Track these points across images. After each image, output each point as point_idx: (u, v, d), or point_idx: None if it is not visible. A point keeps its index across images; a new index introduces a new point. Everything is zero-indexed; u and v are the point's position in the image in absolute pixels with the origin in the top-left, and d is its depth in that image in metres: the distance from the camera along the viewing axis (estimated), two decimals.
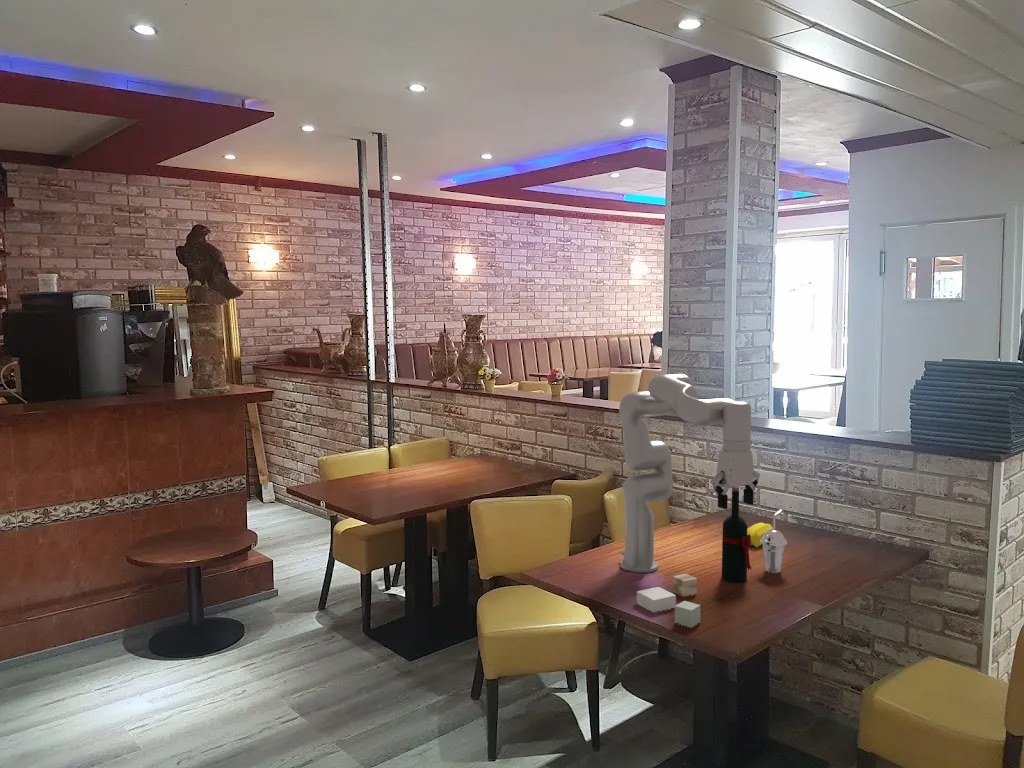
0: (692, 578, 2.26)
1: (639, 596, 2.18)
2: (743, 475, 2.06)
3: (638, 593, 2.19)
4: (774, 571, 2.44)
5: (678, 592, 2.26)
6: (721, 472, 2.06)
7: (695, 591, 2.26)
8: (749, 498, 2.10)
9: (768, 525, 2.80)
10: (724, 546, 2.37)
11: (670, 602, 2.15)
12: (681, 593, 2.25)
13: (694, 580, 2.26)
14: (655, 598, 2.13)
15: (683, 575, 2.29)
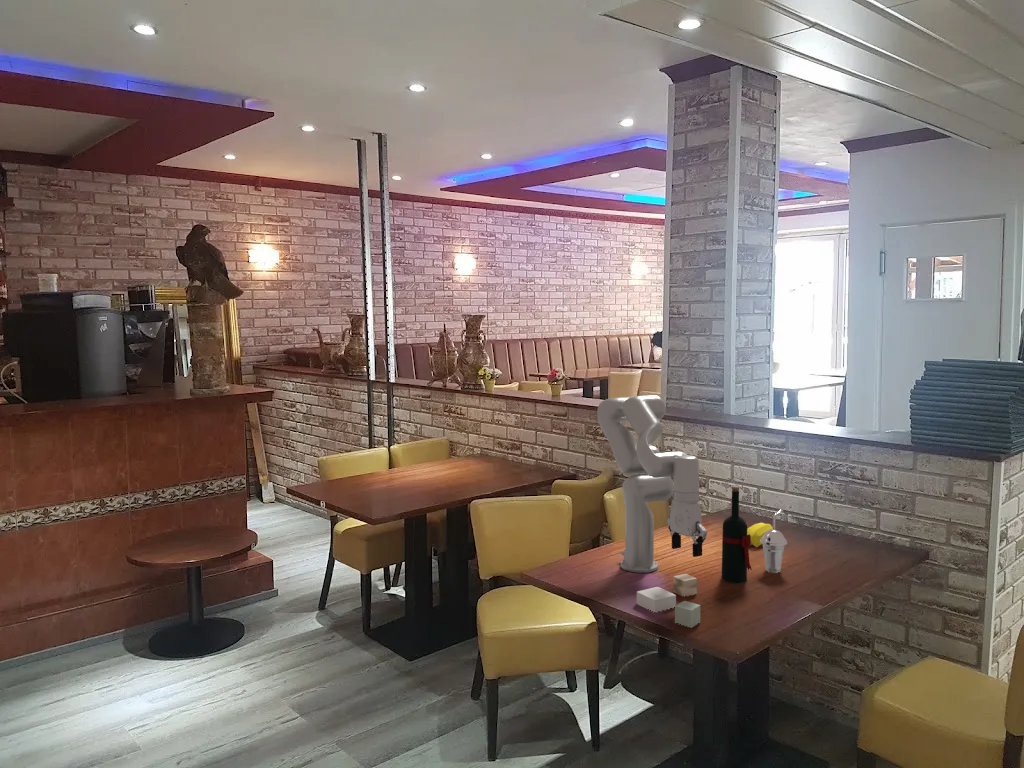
0: (692, 578, 2.26)
1: (639, 596, 2.18)
2: None
3: (638, 593, 2.18)
4: (774, 571, 2.44)
5: (678, 592, 2.26)
6: (697, 523, 2.20)
7: (695, 591, 2.26)
8: (679, 542, 2.30)
9: (768, 525, 2.80)
10: (724, 546, 2.37)
11: (671, 602, 2.15)
12: (681, 593, 2.25)
13: (694, 580, 2.26)
14: (656, 599, 2.13)
15: (683, 575, 2.29)
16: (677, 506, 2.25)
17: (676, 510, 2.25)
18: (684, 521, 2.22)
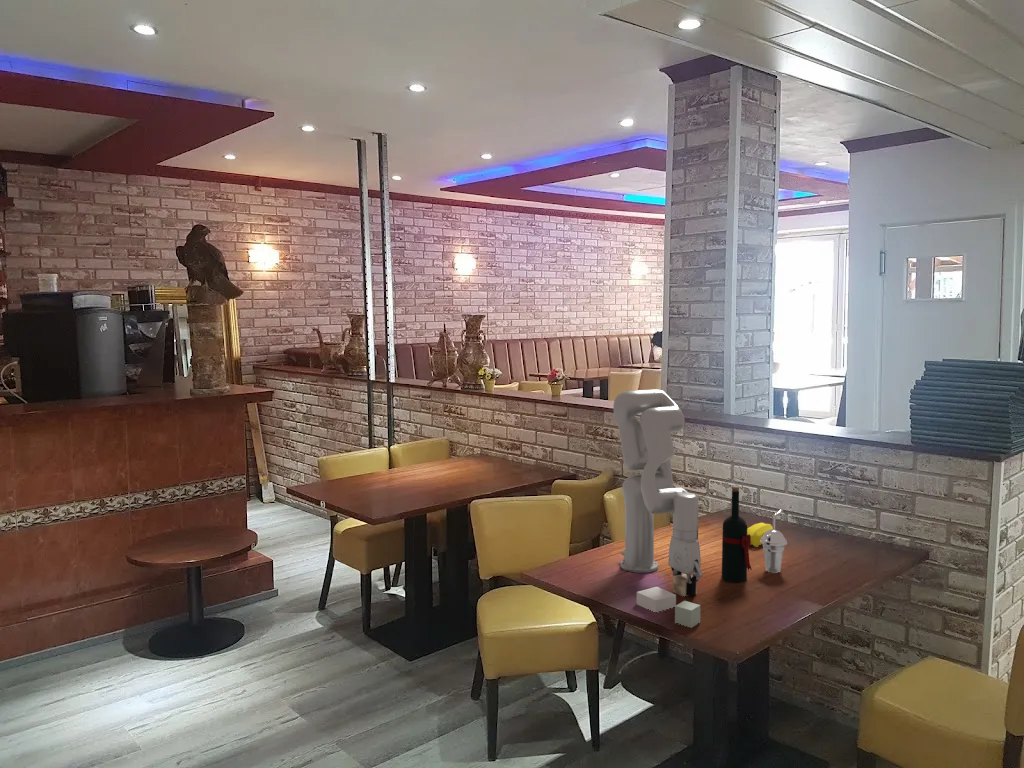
0: None
1: (639, 596, 2.18)
2: None
3: (638, 594, 2.18)
4: (774, 571, 2.44)
5: (678, 592, 2.26)
6: (695, 563, 2.22)
7: None
8: None
9: (768, 525, 2.79)
10: (724, 546, 2.37)
11: (671, 602, 2.15)
12: (681, 593, 2.25)
13: None
14: (657, 599, 2.13)
15: (683, 575, 2.29)
16: (676, 543, 2.26)
17: (675, 548, 2.26)
18: (683, 559, 2.23)
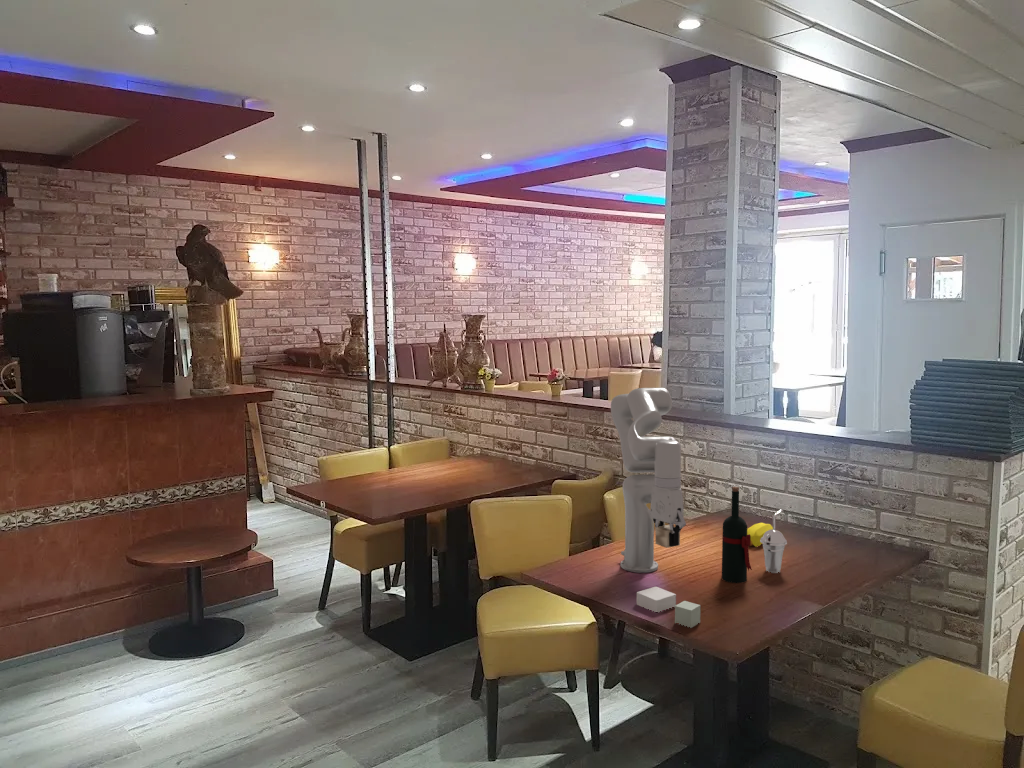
0: None
1: (639, 597, 2.18)
2: None
3: (638, 594, 2.18)
4: (774, 571, 2.44)
5: (661, 543, 2.18)
6: (678, 512, 2.14)
7: None
8: None
9: (768, 525, 2.80)
10: (724, 546, 2.37)
11: (671, 601, 2.16)
12: (664, 544, 2.17)
13: None
14: (658, 599, 2.13)
15: (665, 526, 2.20)
16: (658, 492, 2.18)
17: (657, 497, 2.18)
18: (665, 508, 2.15)
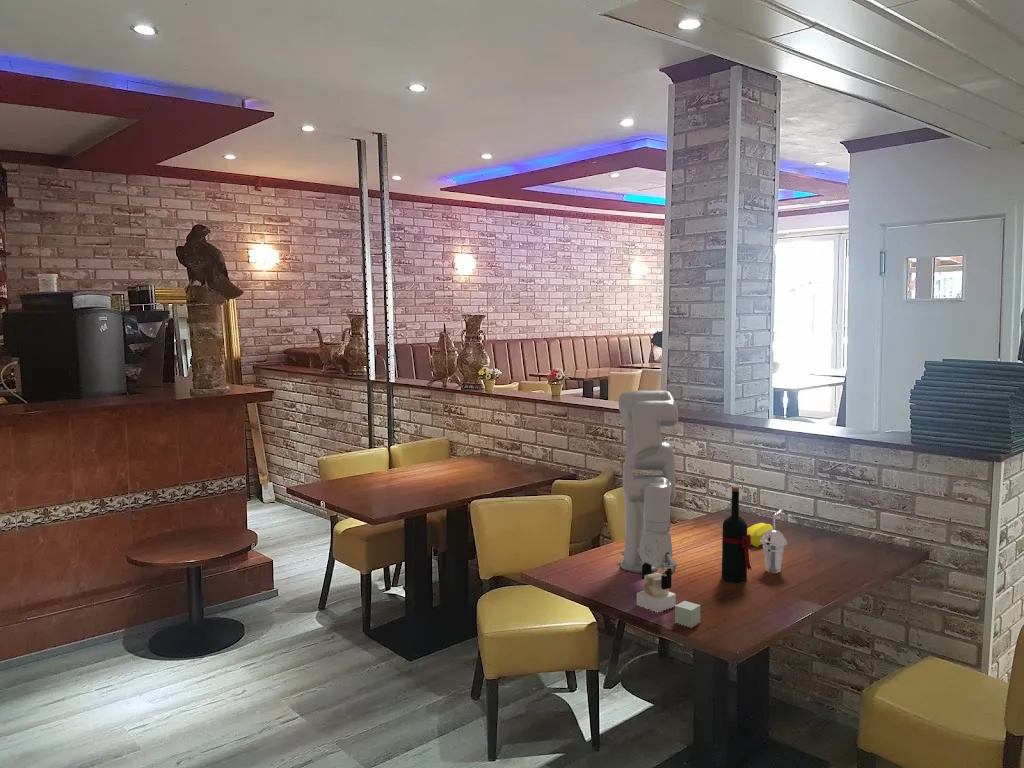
0: None
1: (639, 597, 2.17)
2: None
3: (638, 594, 2.18)
4: (774, 571, 2.44)
5: (649, 592, 2.16)
6: (667, 554, 2.12)
7: (667, 591, 2.16)
8: (649, 573, 2.21)
9: (769, 525, 2.79)
10: (724, 546, 2.37)
11: (671, 601, 2.16)
12: (652, 593, 2.15)
13: None
14: (659, 599, 2.13)
15: (654, 574, 2.19)
16: (646, 535, 2.16)
17: (646, 540, 2.16)
18: (654, 552, 2.13)
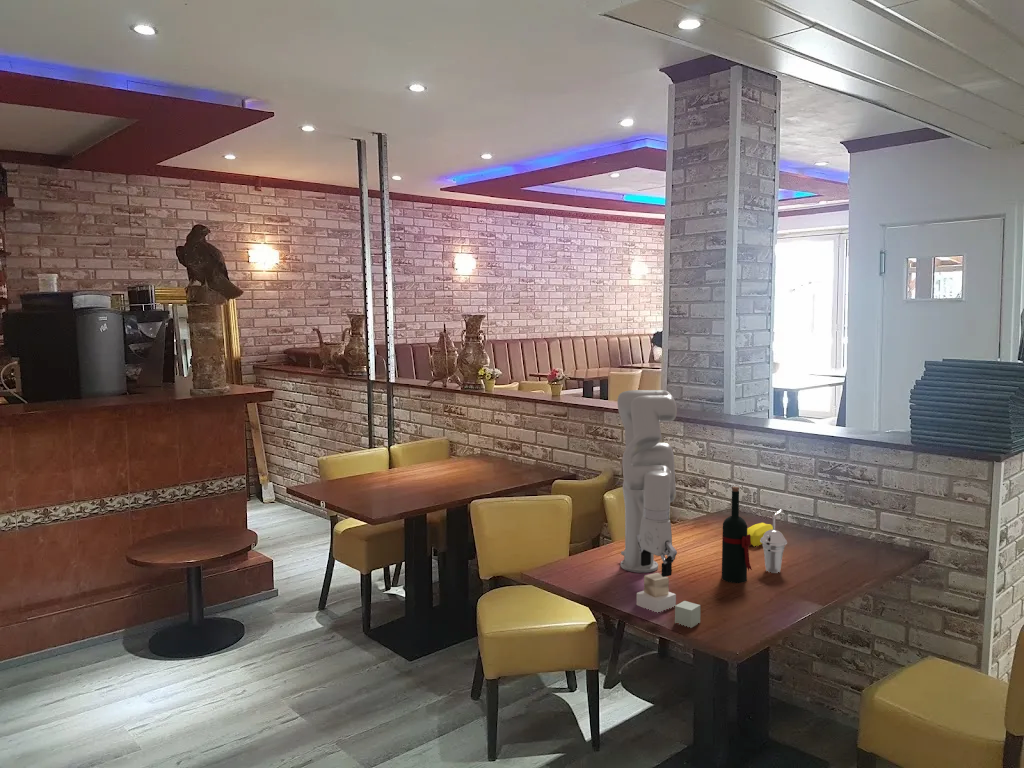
0: (663, 577, 2.16)
1: (639, 597, 2.17)
2: None
3: (638, 595, 2.17)
4: (774, 571, 2.44)
5: (649, 592, 2.16)
6: (667, 542, 2.12)
7: (667, 591, 2.16)
8: (648, 559, 2.22)
9: (769, 525, 2.79)
10: (724, 546, 2.37)
11: (671, 601, 2.16)
12: (652, 593, 2.15)
13: (666, 580, 2.16)
14: (659, 599, 2.13)
15: (654, 574, 2.19)
16: (646, 523, 2.16)
17: (646, 528, 2.16)
18: (653, 540, 2.13)
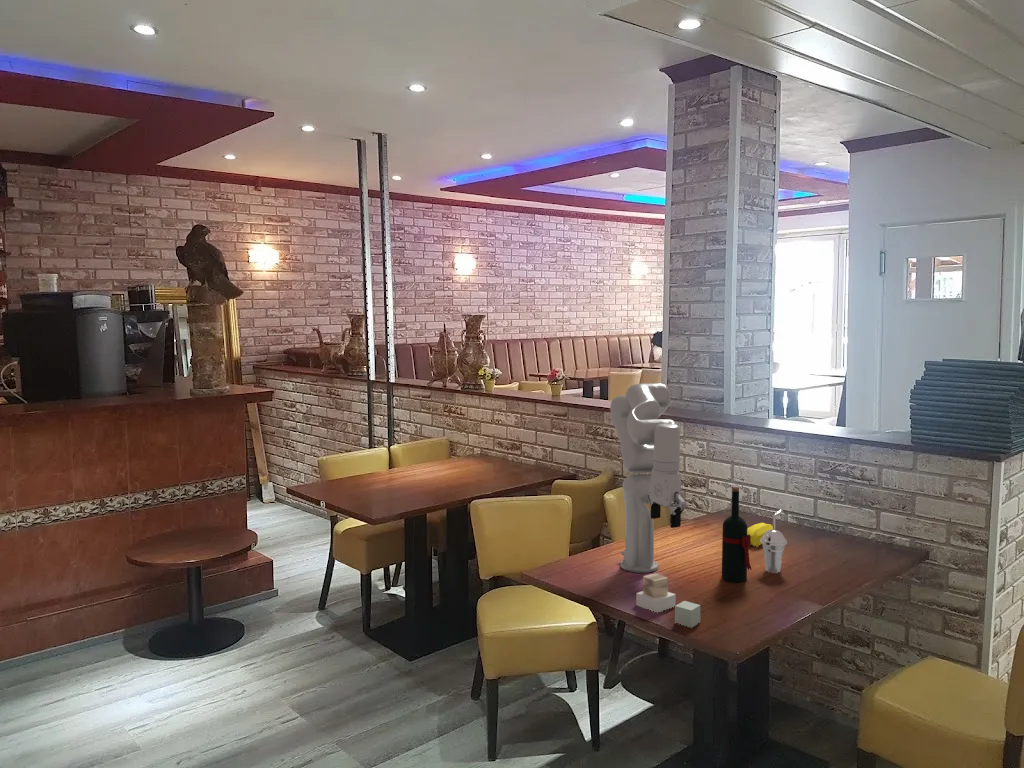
0: (663, 578, 2.16)
1: (639, 597, 2.17)
2: None
3: (638, 595, 2.17)
4: (774, 571, 2.44)
5: (648, 593, 2.16)
6: (676, 493, 2.14)
7: (666, 591, 2.16)
8: (658, 512, 2.24)
9: (769, 525, 2.79)
10: (724, 546, 2.37)
11: (671, 602, 2.16)
12: (652, 594, 2.15)
13: (665, 580, 2.16)
14: (658, 599, 2.13)
15: (653, 575, 2.18)
16: (656, 475, 2.18)
17: (655, 480, 2.18)
18: (663, 491, 2.16)
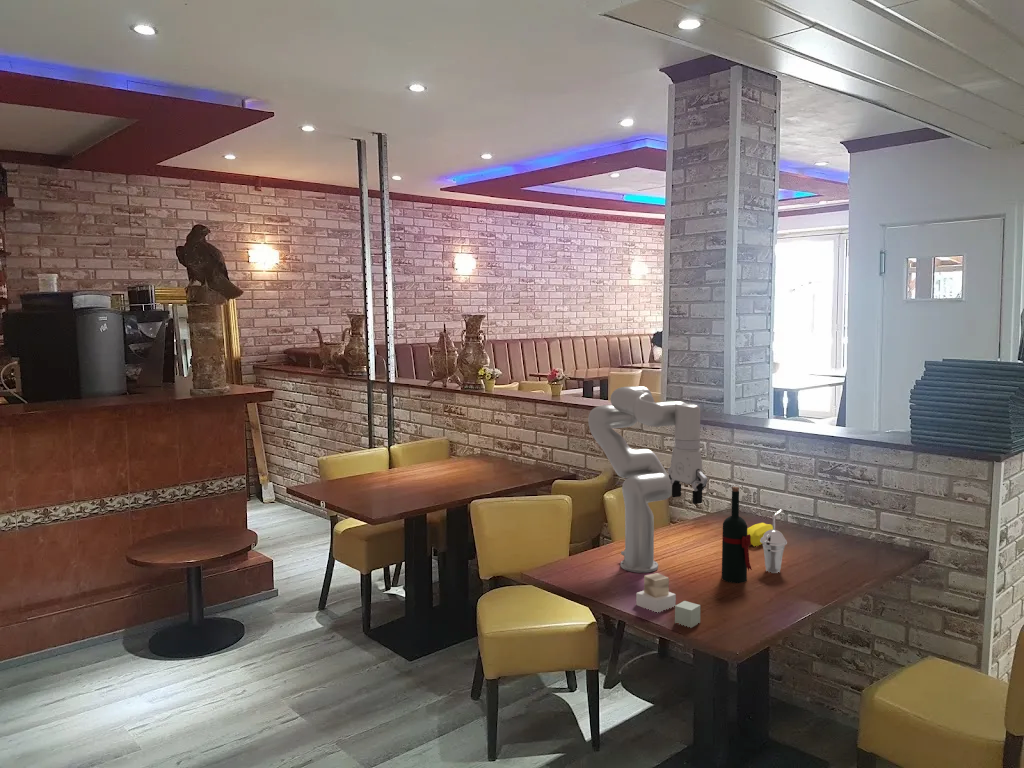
0: (664, 577, 2.16)
1: (639, 597, 2.17)
2: None
3: (638, 594, 2.17)
4: (774, 571, 2.44)
5: (649, 592, 2.16)
6: (698, 470, 2.22)
7: (667, 591, 2.16)
8: (679, 491, 2.32)
9: (769, 525, 2.79)
10: (724, 546, 2.37)
11: (671, 601, 2.16)
12: (652, 593, 2.15)
13: (666, 580, 2.16)
14: (658, 599, 2.13)
15: (654, 575, 2.19)
16: (677, 454, 2.26)
17: (677, 459, 2.27)
18: (685, 469, 2.24)
